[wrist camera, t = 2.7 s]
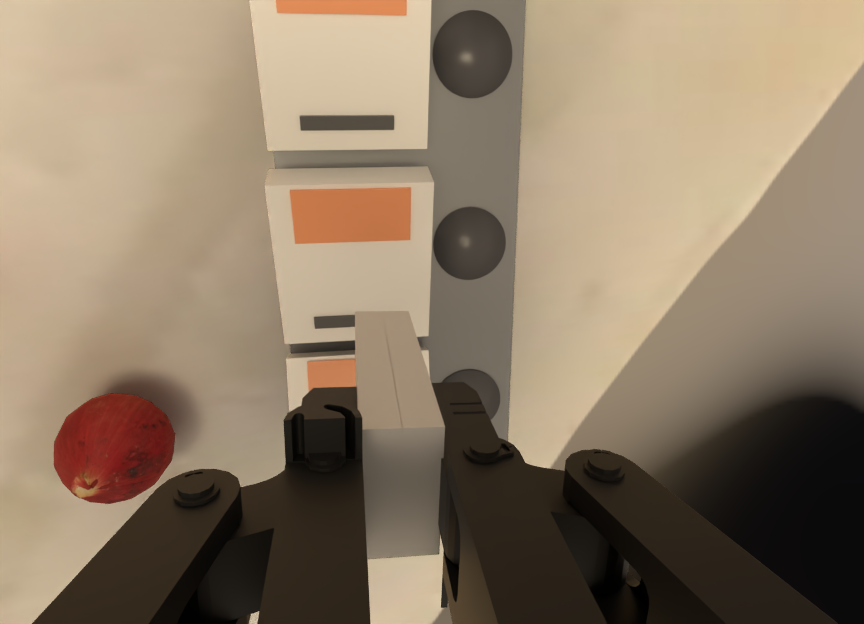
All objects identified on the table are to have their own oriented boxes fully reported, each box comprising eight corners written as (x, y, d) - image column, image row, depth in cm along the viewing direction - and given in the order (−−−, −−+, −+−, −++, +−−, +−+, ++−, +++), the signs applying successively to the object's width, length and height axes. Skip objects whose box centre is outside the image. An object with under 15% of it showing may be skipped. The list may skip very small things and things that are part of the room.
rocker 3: (298, 504, 31) (294, 520, 29) (290, 353, 30) (285, 359, 28) (429, 492, 32) (435, 507, 30) (423, 345, 31) (429, 350, 29)
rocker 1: (271, 137, 27) (267, 152, 25) (247, -70, 23) (240, -70, 21) (421, 135, 28) (427, 150, 26) (426, -63, 24) (433, -62, 22)
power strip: (311, 490, 39) (306, 552, 34) (269, -33, 30) (252, -69, 24) (485, 475, 41) (508, 531, 35) (499, -26, 31) (534, -58, 26)
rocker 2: (287, 321, 30) (284, 345, 28) (268, 168, 25) (264, 186, 24) (423, 314, 31) (428, 337, 29) (427, 166, 26) (434, 183, 25)
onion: (190, 377, 36) (151, 445, 28) (185, 459, 37) (146, 545, 30) (87, 366, 34) (16, 435, 27) (86, 452, 36) (19, 539, 29)
